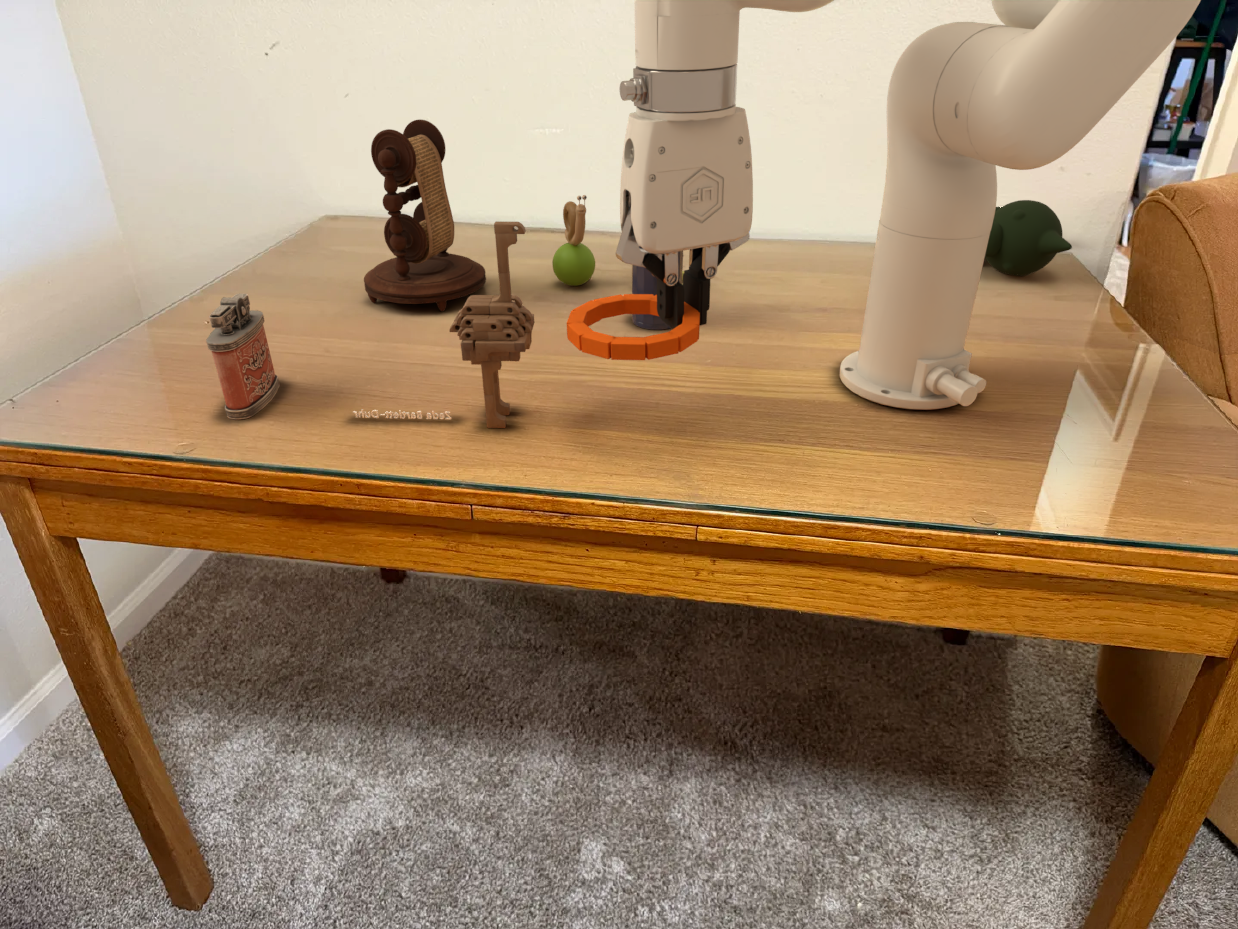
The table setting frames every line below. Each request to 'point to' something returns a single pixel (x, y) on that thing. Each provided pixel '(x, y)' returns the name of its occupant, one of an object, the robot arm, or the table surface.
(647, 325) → the cup
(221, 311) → the lighter
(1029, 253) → the toy figurine
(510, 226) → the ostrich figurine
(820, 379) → the table surface
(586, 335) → the ring
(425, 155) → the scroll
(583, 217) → the snail figurine
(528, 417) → the table surface
